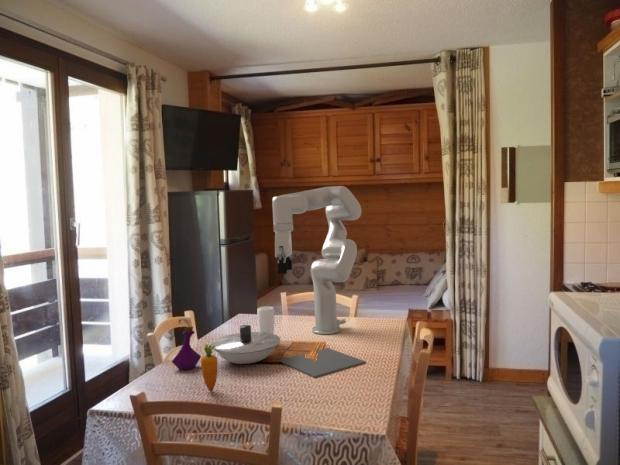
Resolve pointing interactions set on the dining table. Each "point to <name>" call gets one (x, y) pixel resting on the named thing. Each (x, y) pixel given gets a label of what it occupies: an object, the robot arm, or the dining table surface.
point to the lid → (245, 341)
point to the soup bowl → (246, 356)
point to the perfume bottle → (186, 351)
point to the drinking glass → (266, 319)
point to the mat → (322, 362)
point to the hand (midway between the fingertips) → (285, 271)
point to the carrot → (209, 367)
